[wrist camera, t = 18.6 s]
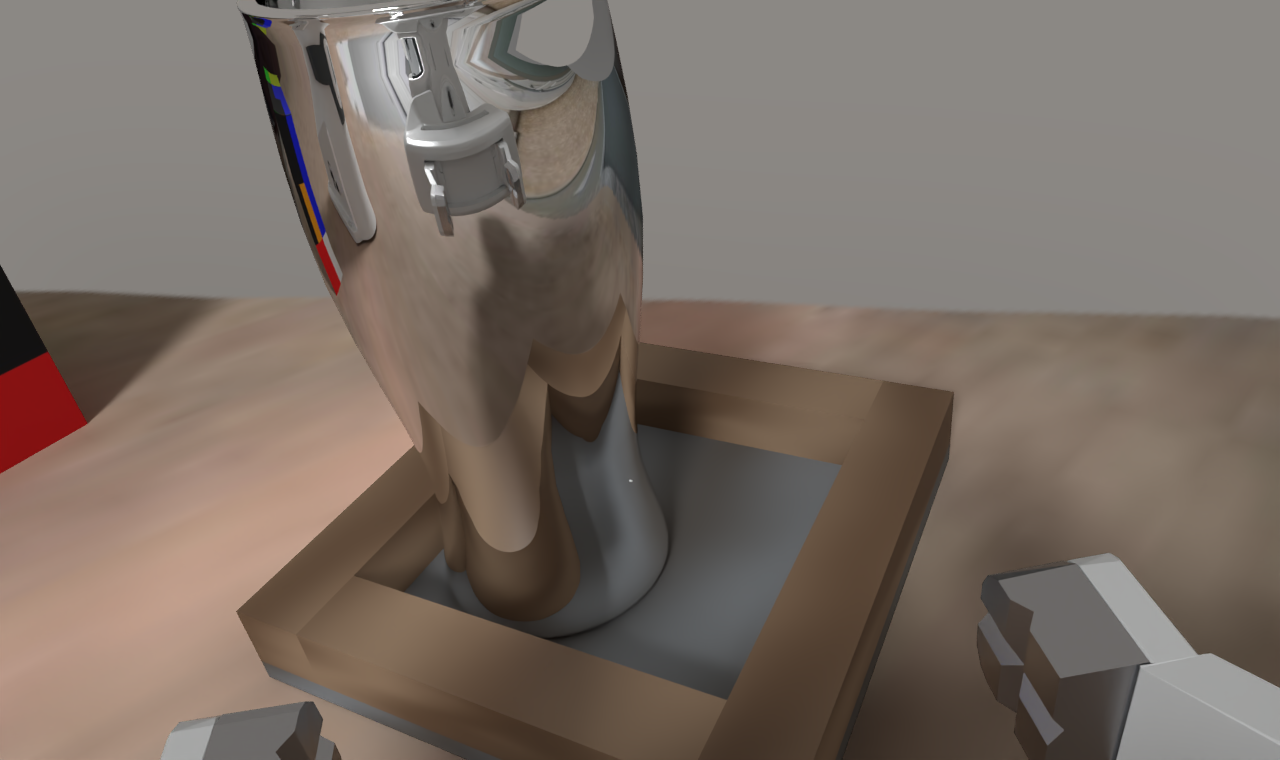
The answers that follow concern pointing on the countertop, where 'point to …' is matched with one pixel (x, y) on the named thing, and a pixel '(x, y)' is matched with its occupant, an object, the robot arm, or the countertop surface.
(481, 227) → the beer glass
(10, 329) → the puzzle toy
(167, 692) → the countertop surface
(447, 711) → the cradle jig
